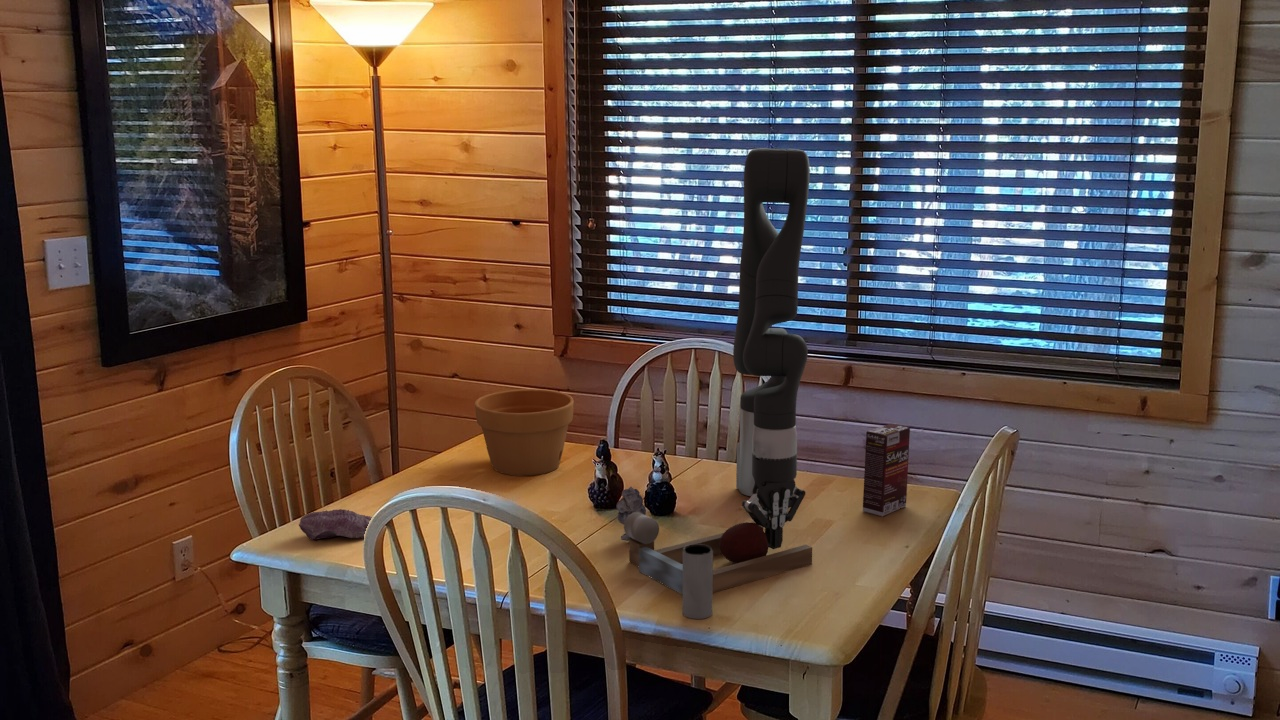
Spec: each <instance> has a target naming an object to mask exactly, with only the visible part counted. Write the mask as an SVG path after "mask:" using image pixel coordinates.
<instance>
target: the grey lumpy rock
mask: <svg viewBox="0 0 1280 720" xmlns="http://www.w3.org/2000/svg"><path fill="white" fill-rule="evenodd" d="M621 497H622V498H621V499H620V500H619V501H617V503H616V505H615V506H616V510H617V511H618V513H617V520H618V522H619V523H620V524H622V525H624V523H625V521H626V519H627V517H628V516H629V515H630V514H632V513H634V512H639V513H642V514H644V515H646V514H647V509H646V506H645V505H644V499H643V497H642V495H641V492H640V491H639V490H638V489H637V488H633V487H632V486H629V487H628V488H625V489H623V490H622V492H621ZM620 539H621V541H625V542H629V540H630V539H633V538H631V537H629V536H627V535H626V533H625V532H624V533H623V534H622V535H621V536H620Z"/></svg>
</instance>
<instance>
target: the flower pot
mask: <svg viewBox="0 0 1280 720" xmlns="http://www.w3.org/2000/svg"><path fill="white" fill-rule="evenodd" d="M574 401H575V400H574V398H573V397H572V396H571V395H570V394H568V393H564V392H561V391H557V390H550V389H535V388H534V389H533V388H530V389H529V388H525V389H521V388H519V389H507V390H501V391H496V392H491V393H489V394H488V393H487V394H484V395H482V396H480V397H478V398H477V399H476V400H475V402H474V410H475V418H476V423H477V424H478V426H479V427H480V428H481V430H482V435H483V437H484V440H485V441H484V442H485V444H486V445H485V446H486V451H487V453H488V457H489V461H490V463H491V466H492V468H493V470H495V471H496V472H498V473H501V474H504V475H510V476H516V477H517V476H519V477H520V476H521V477H529V476H530V477H531V476H537V475H543V474H547V473H550V472H553V471H555V470H556V469H558V468H559V466H560V464H561V460H562V457H563V452H564V447H565V443H566V438H567V433H568V428H569V425H570V423H571V422H572V421H573V418H574V405H575V404H574Z"/></svg>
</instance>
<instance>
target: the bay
mask: <svg viewBox="0 0 1280 720" xmlns="http://www.w3.org/2000/svg"><path fill="white" fill-rule="evenodd" d="M759 526H760V525H759ZM761 527H762V526H761ZM762 529H763V530H764V527H762ZM623 530H624V534H625V533H626V535H627V536H629V537H631V538H633V539H630V540H629V541H628V544H629V545H628V546H629V547H628V549H629V551H628V552H629V553H628V554H629V556H628V557H629V561H630V562H631V563H630V562H629V561H628V562H629V563H630V564H632V563H633V564H632V565H634V564H635V565H634V566H636V565H637V566H636V567H638V566H639V567H638V572H639V571H640V572H639V573H641V572H642V573H641V574H643V573H644V574H646V575H648V576H650V577H652V578H653V579H652V578H651V579H652V580H654V579H655V580H654V581H656V580H657V581H659V582H661V583H663V584H664V586H665V585H666V586H665V587H667V586H668V587H667V588H669V587H670V588H669V589H671V590H672V589H673V591H674V590H675V592H676V591H677V592H676V593H678V592H679V593H678V594H680V593H681V594H680V595H682V594H683V548H684V547H685V546H688V545H692V544H703V545H707V546H710V547H711V548H712V549H713V557H714V556H719V555H722V553H721V551H720V547H719V542H720V539H721V537H722V535H723V533H724V532H722V533H717V534H714V535H710V536H706V537H701V538H698V539H694V540H690V541H686V542H682V543H678V544H674V545H670V546H666V547H662V548H658V549H655V540H656V539H657V537H658V535H659V534H660V526H659V523H658V521H657V520H656V519H654V518H653V517H650V516H648V515H646V514H645V515H644V514H642V513H639V512H634V513H632V514H630V515H629V516H628V517H627V519H626V521H625V523H624V524H623ZM812 564H813V546H810V545H808V544H803V545H799V546H795V547H791V548H788V549H785V550H782V551H777V552H774V553H770V554H767V555H766V556H762V557H759V558H755V559H752V560H748V561H744V562H741V563H733V564H730V565H727V566H723V567H718V568H716V569H713V593H717V592H720V591H724V590H727V589H730V588H734V587H738V586H741V585H744V584H748V583H751V582H752V583H753V582H755V581H759V580H763V579H766V578H769V577H772V576H776V575H780V574H783V573H786V572H789V571H793V570H794V571H795V570H797V569H801V568H803V567H807V566H810V565H812ZM644 574H643V575H644ZM646 575H645V576H646ZM648 576H647V577H648ZM650 577H649V578H650ZM657 581H656V582H657ZM659 582H658V583H659ZM661 583H660V584H661ZM663 584H662V585H663Z"/></svg>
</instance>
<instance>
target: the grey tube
mask: <svg viewBox="0 0 1280 720" xmlns="http://www.w3.org/2000/svg"><path fill="white" fill-rule="evenodd" d="M713 559H714V556H713V549H712V548H711V547H710V546H707V545H703V544H692V545H688V546H685V547H684V548H683V564H682V565H683V595H682V608H681V609H682V615H683V616H684V617H686V618H689V619H692V620H704V619H708V618H710V617H711V616H712V615H713V570H714V566H713V565H714V560H713Z"/></svg>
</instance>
